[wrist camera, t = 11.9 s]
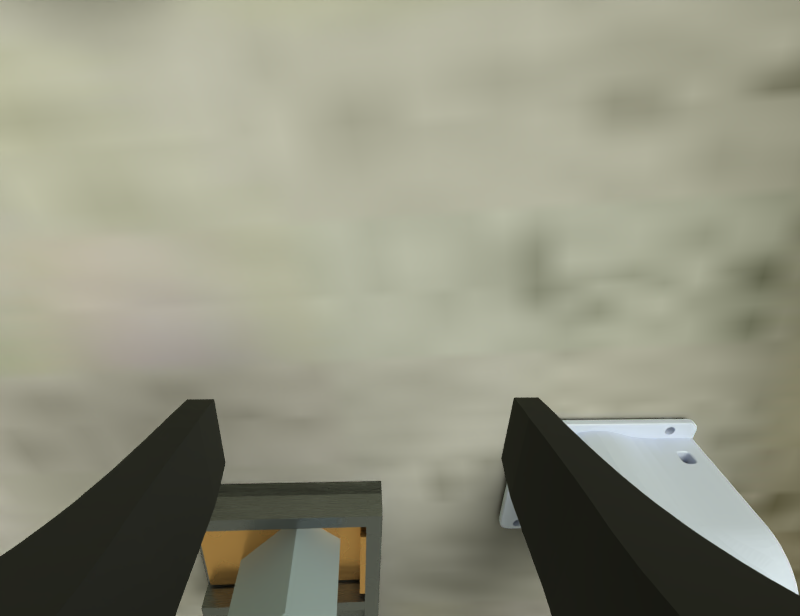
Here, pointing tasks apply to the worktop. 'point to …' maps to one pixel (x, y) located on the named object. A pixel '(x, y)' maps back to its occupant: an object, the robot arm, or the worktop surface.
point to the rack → (296, 509)
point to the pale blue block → (289, 576)
